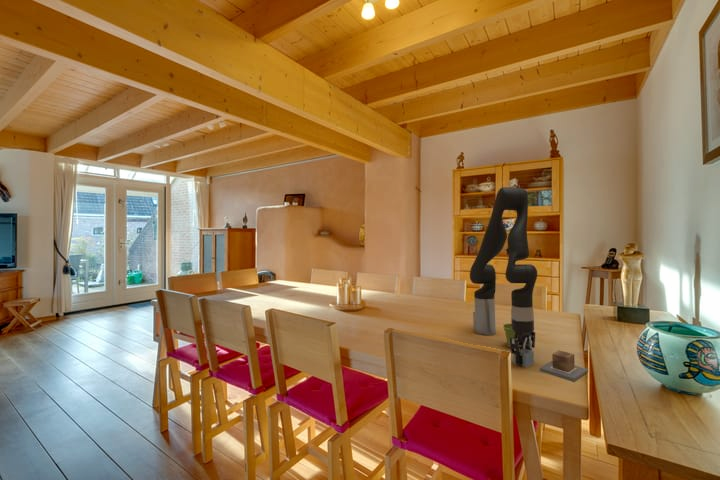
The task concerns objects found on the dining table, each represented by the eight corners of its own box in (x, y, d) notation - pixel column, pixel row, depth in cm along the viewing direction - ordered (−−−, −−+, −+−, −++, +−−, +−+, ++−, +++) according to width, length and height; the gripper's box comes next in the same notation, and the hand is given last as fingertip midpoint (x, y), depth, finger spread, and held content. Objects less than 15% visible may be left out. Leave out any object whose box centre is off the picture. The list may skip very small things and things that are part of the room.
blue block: (513, 363, 120) (513, 350, 120) (520, 360, 123) (520, 347, 123) (526, 367, 116) (526, 354, 116) (533, 364, 119) (533, 350, 119)
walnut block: (552, 367, 113) (552, 353, 113) (559, 363, 116) (558, 350, 116) (568, 372, 109) (567, 358, 109) (574, 368, 112) (574, 354, 111)
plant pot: (514, 352, 131) (513, 331, 131) (498, 344, 140) (497, 324, 140) (533, 348, 134) (532, 328, 133) (516, 341, 143) (515, 322, 142)
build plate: (539, 370, 114) (539, 367, 114) (554, 362, 120) (554, 359, 120) (574, 381, 105) (574, 378, 105) (588, 372, 111) (588, 368, 111)
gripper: (522, 312, 126) (523, 354, 127) (502, 319, 118) (503, 364, 119) (542, 316, 120) (543, 360, 121) (522, 323, 112) (523, 371, 113)
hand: (523, 362), depth 120 cm, fingers open, 5 cm apart
